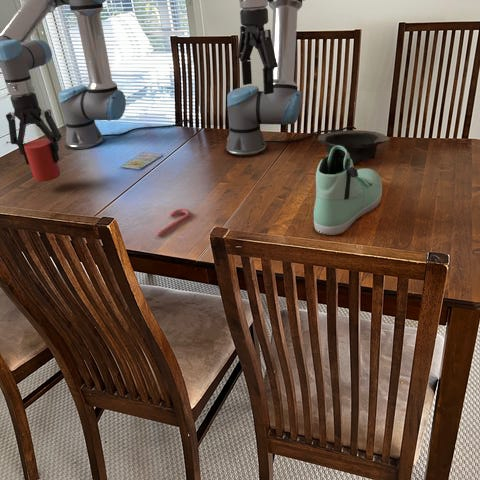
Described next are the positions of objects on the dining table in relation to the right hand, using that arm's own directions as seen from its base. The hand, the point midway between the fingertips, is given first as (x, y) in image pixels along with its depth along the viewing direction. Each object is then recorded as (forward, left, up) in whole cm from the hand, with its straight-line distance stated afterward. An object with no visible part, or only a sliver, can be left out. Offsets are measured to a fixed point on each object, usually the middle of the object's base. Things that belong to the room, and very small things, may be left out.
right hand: (257, 88), depth 140 cm
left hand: (+62, -39, -21) cm, 76 cm away
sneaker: (-14, +27, -31) cm, 44 cm away
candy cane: (+34, +8, -31) cm, 47 cm away
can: (+62, -39, -26) cm, 78 cm away
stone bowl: (-38, -5, -31) cm, 50 cm away
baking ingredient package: (+28, -45, -31) cm, 62 cm away
